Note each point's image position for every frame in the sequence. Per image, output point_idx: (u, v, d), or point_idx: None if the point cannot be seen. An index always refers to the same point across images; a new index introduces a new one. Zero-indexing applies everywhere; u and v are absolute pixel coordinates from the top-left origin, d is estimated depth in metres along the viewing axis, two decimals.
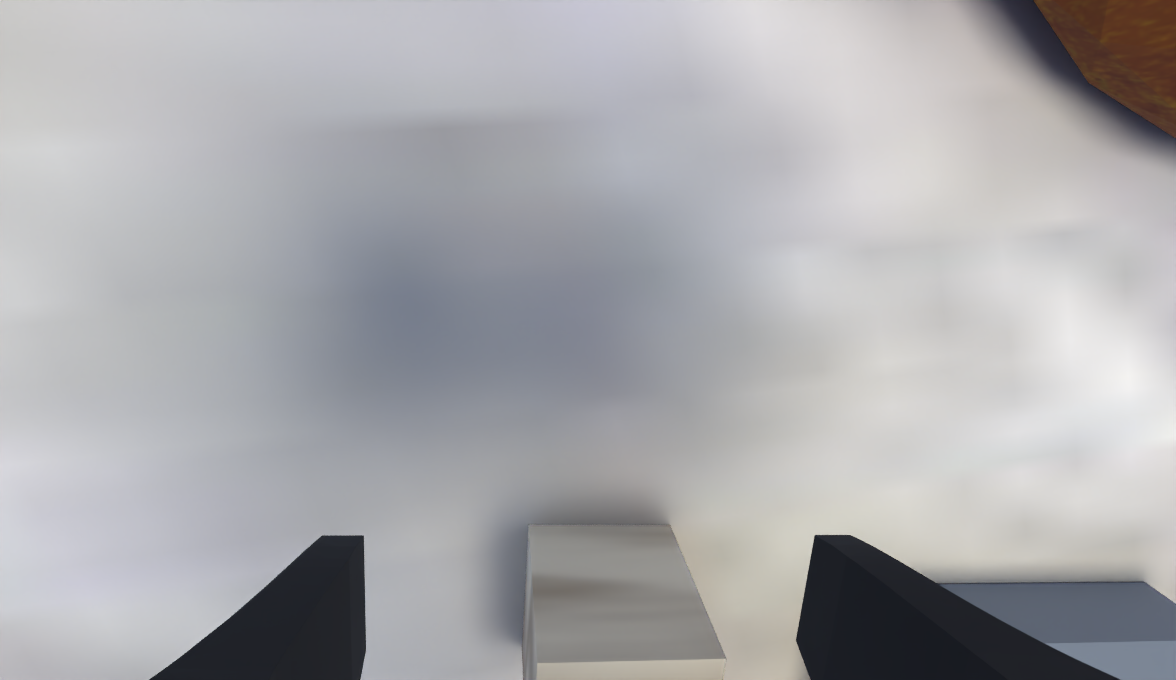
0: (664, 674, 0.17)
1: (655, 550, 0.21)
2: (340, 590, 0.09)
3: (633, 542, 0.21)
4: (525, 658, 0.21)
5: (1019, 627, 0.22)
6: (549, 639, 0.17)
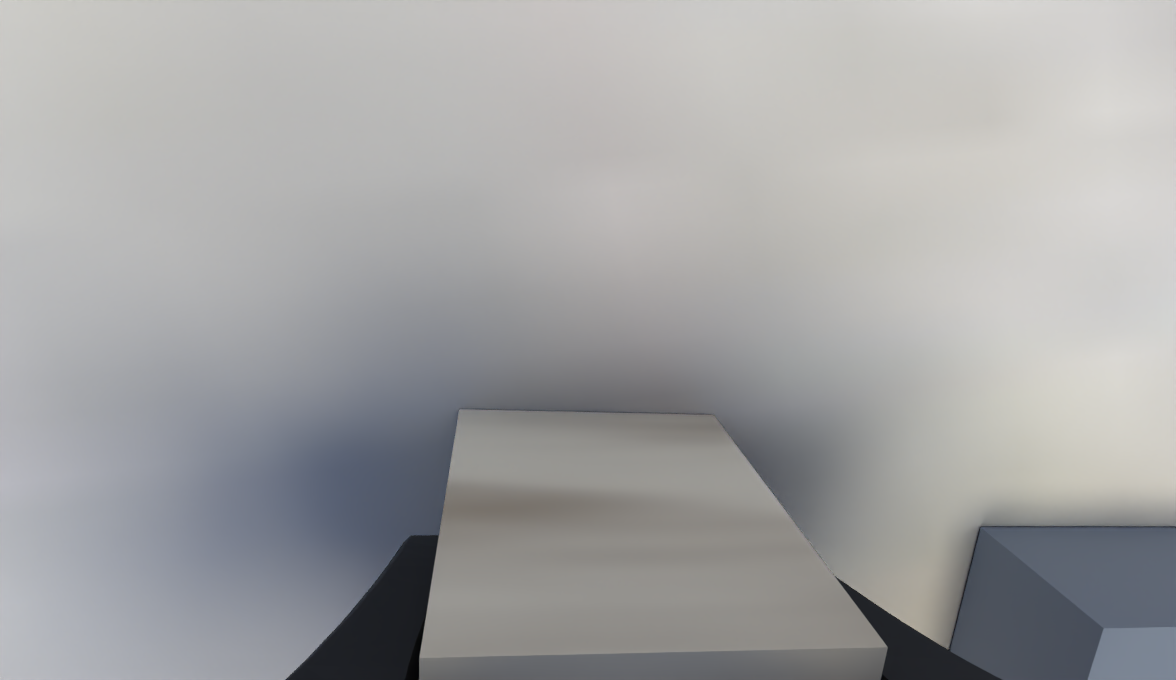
0: None
1: (692, 448, 0.11)
2: None
3: (650, 436, 0.11)
4: None
5: None
6: (461, 602, 0.07)
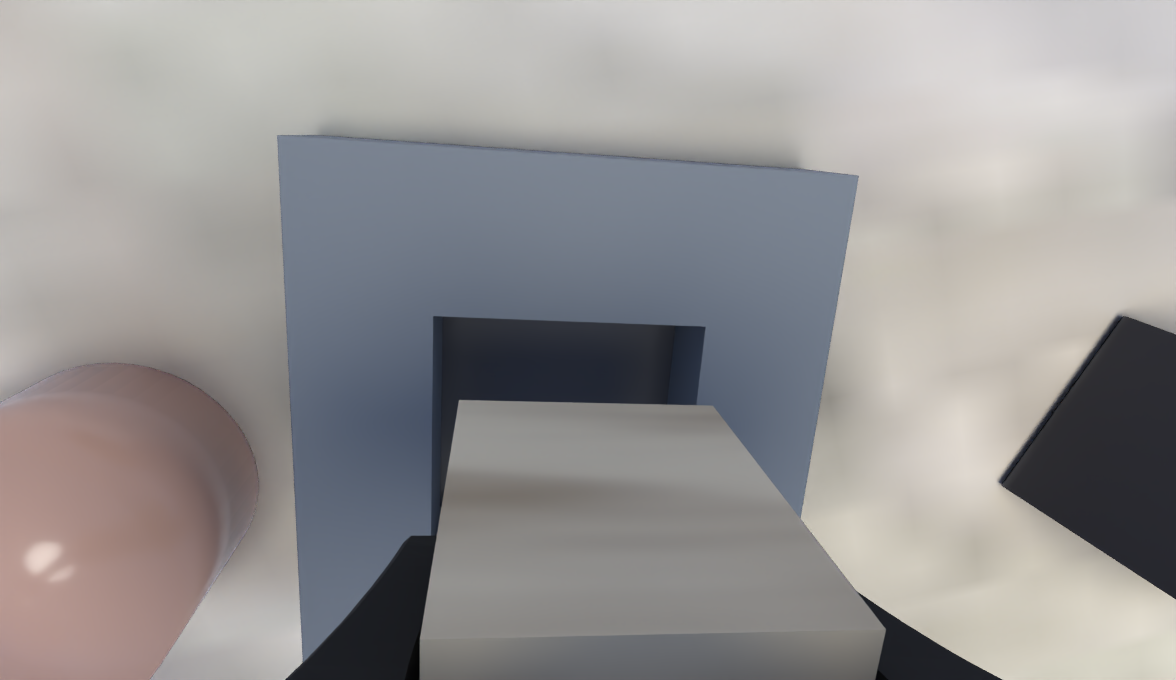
0: (737, 668, 0.07)
1: (692, 438, 0.11)
2: None
3: (649, 427, 0.12)
4: None
5: (548, 153, 0.15)
6: (461, 586, 0.07)
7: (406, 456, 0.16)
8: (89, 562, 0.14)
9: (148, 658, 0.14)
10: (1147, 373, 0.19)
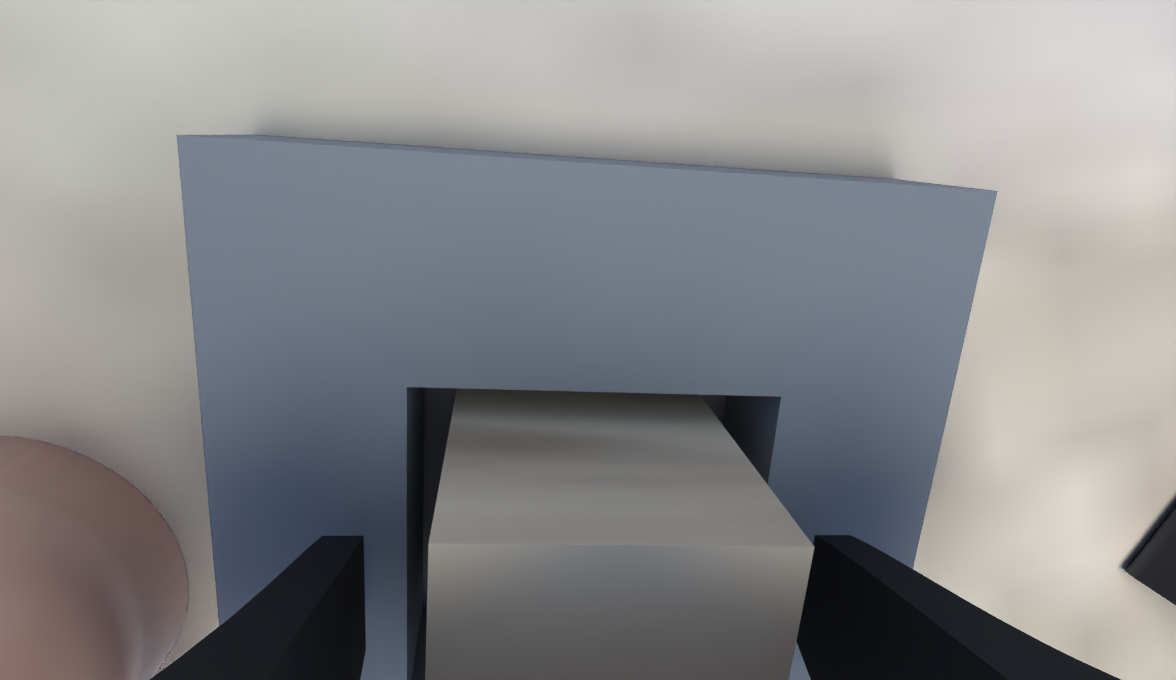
0: (690, 576, 0.08)
1: (666, 404, 0.13)
2: (340, 590, 0.09)
3: (629, 394, 0.13)
4: None
5: (567, 160, 0.11)
6: (463, 507, 0.09)
7: (372, 572, 0.12)
8: None
9: None
10: None
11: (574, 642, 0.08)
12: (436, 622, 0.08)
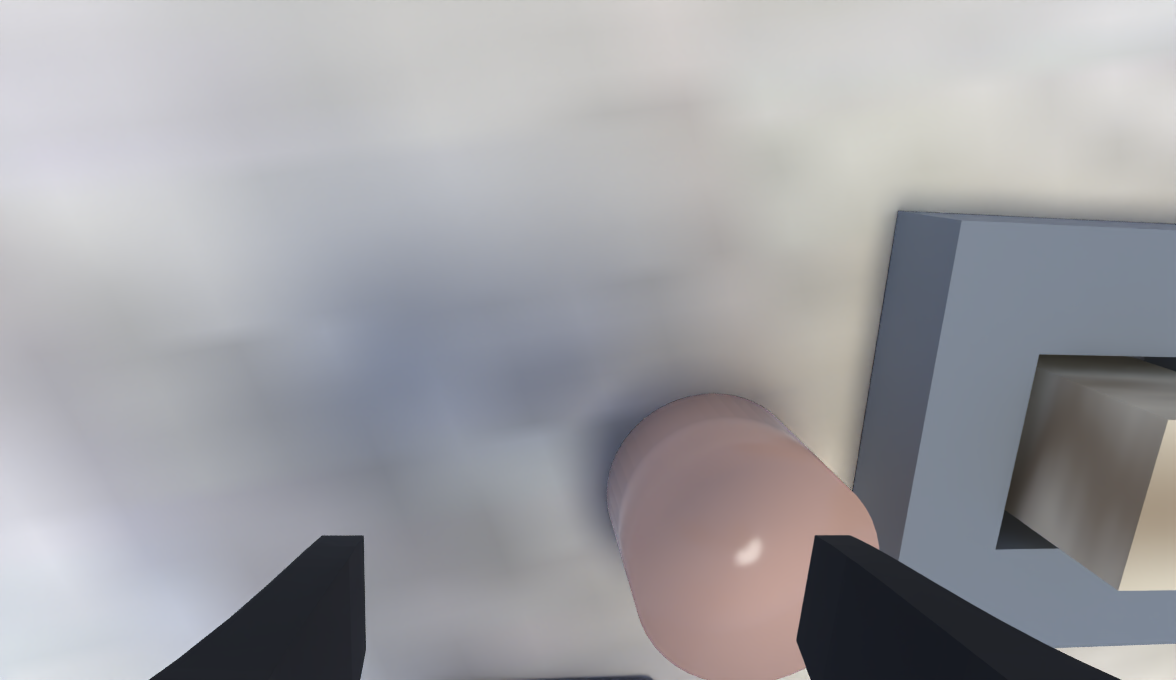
0: None
1: (1140, 366, 0.21)
2: (339, 590, 0.09)
3: (1110, 362, 0.21)
4: (1015, 474, 0.21)
5: (1123, 226, 0.19)
6: (1150, 408, 0.17)
7: (996, 464, 0.20)
8: None
9: None
10: None
11: None
12: (1160, 460, 0.16)
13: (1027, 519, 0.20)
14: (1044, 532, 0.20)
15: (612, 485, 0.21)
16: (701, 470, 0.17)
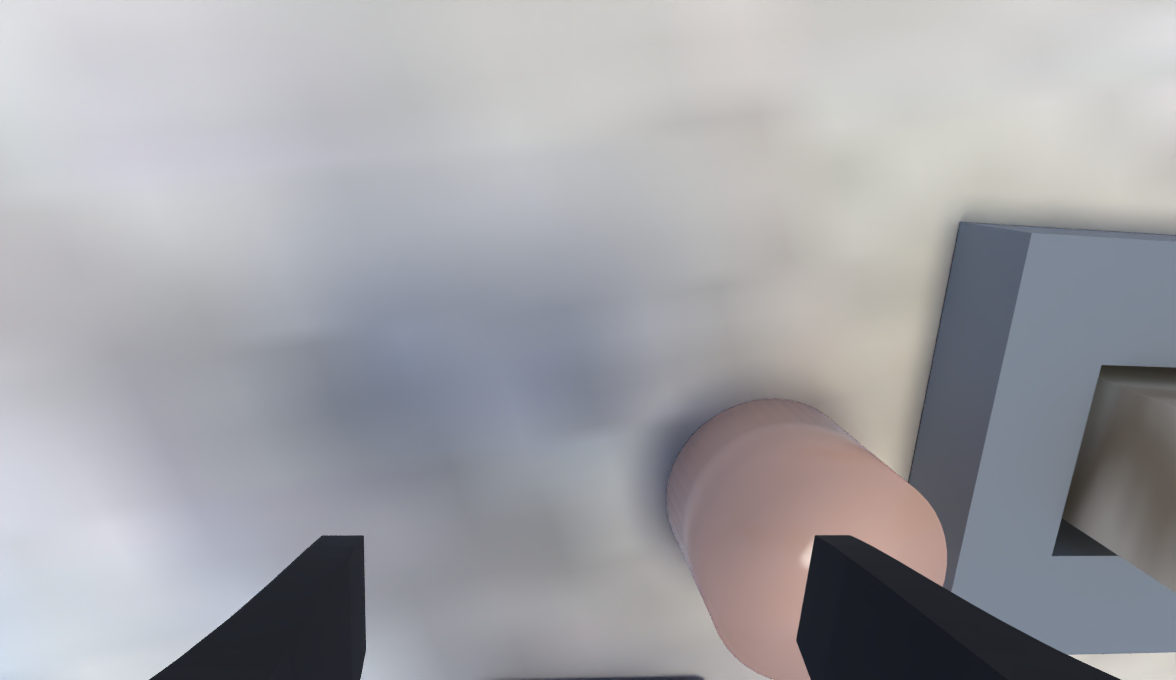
0: None
1: None
2: (340, 590, 0.09)
3: (1165, 373, 0.22)
4: (1071, 482, 0.21)
5: None
6: None
7: (1056, 472, 0.20)
8: (896, 552, 0.18)
9: None
10: None
11: None
12: None
13: (1084, 526, 0.21)
14: (1102, 539, 0.20)
15: (674, 487, 0.22)
16: (777, 474, 0.18)
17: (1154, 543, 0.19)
